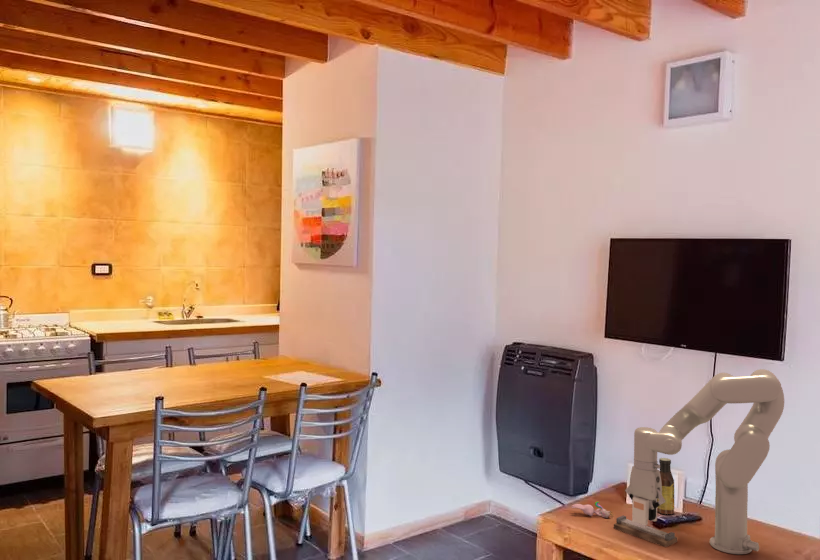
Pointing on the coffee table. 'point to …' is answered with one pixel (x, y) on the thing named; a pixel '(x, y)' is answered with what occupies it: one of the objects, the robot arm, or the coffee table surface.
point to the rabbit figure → (590, 510)
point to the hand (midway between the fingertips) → (644, 516)
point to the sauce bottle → (666, 487)
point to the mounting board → (644, 535)
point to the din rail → (645, 528)
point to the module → (641, 510)
